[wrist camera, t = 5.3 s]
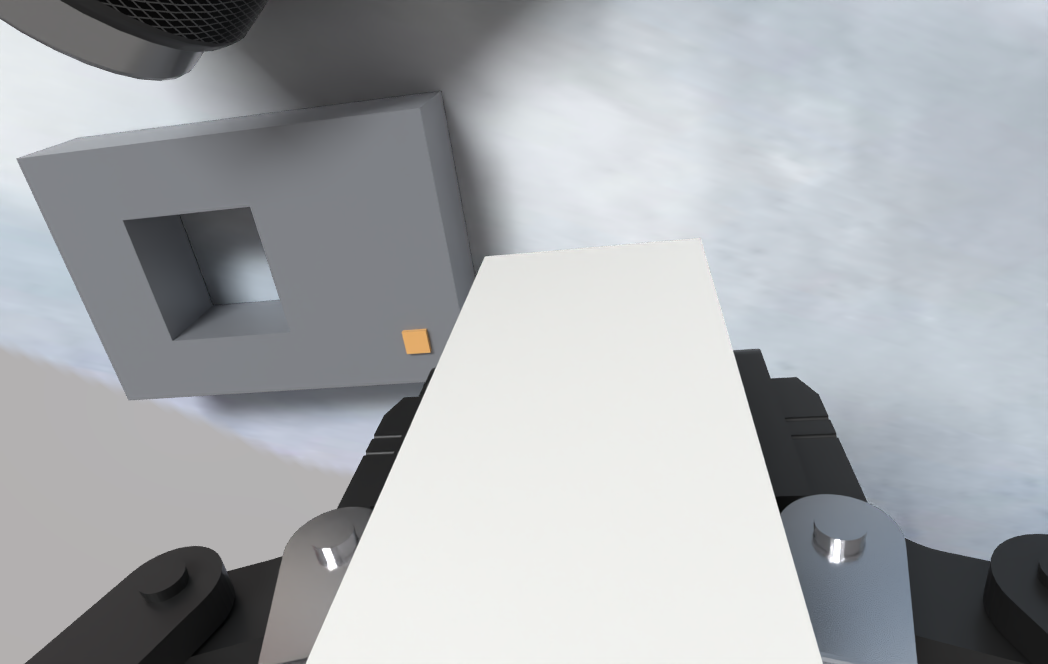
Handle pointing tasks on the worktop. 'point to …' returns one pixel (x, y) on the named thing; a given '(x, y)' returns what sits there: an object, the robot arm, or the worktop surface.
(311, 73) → the worktop surface
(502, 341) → the block
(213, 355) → the outlet block
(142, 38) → the muzzle brake
